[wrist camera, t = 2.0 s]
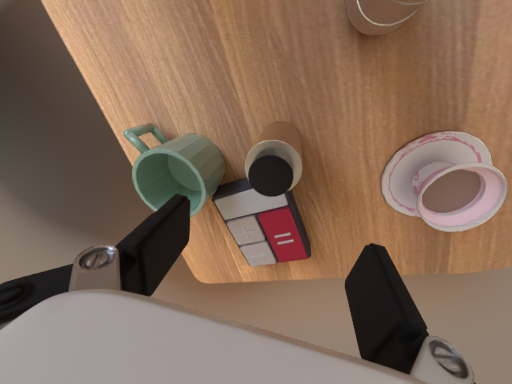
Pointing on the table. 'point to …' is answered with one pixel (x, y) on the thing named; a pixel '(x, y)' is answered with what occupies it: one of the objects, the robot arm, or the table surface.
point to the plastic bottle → (381, 14)
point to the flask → (275, 160)
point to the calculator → (262, 224)
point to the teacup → (445, 181)
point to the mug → (175, 168)
